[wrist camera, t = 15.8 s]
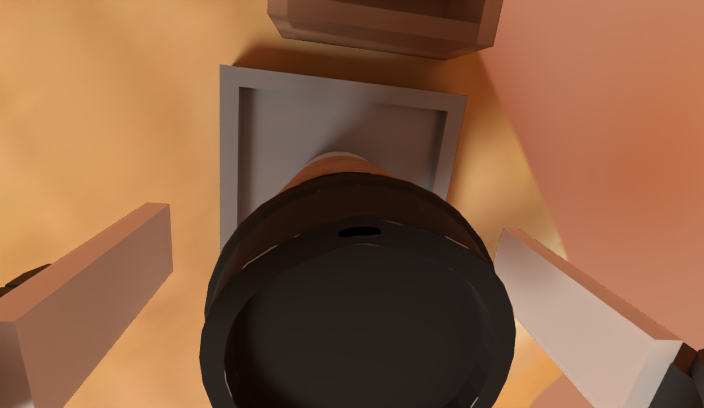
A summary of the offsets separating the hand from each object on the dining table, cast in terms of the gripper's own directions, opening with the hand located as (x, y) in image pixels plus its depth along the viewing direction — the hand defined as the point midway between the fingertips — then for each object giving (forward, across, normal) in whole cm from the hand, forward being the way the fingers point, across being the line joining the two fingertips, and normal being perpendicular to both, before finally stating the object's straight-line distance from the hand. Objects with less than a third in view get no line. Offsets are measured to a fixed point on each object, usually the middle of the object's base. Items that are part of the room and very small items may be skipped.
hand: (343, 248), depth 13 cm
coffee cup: (+9, 0, 0) cm, 9 cm away
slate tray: (+10, 0, 0) cm, 10 cm away
